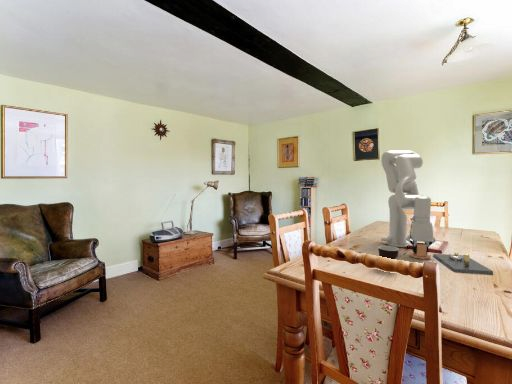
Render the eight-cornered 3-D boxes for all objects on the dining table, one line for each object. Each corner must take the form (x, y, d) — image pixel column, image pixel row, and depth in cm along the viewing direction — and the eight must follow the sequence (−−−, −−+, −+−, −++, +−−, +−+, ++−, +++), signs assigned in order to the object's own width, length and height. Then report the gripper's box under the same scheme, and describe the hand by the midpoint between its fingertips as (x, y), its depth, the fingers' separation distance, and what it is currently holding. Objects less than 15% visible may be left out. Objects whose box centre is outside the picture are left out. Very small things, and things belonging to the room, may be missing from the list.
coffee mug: (390, 273, 121) (390, 251, 120) (373, 267, 129) (374, 247, 128) (406, 268, 126) (406, 248, 126) (389, 263, 134) (390, 243, 133)
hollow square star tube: (412, 258, 140) (413, 245, 139) (406, 252, 150) (407, 240, 149) (434, 260, 138) (435, 246, 137) (426, 253, 148) (427, 241, 147)
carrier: (454, 272, 122) (454, 256, 121) (433, 256, 144) (433, 243, 144) (492, 274, 118) (493, 259, 118) (465, 258, 141) (465, 245, 140)
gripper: (406, 220, 140) (405, 254, 142) (442, 221, 136) (441, 256, 138) (402, 217, 148) (400, 250, 149) (436, 218, 144) (434, 252, 145)
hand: (420, 252), depth 144 cm, fingers closed on hollow square star tube, 4 cm apart
